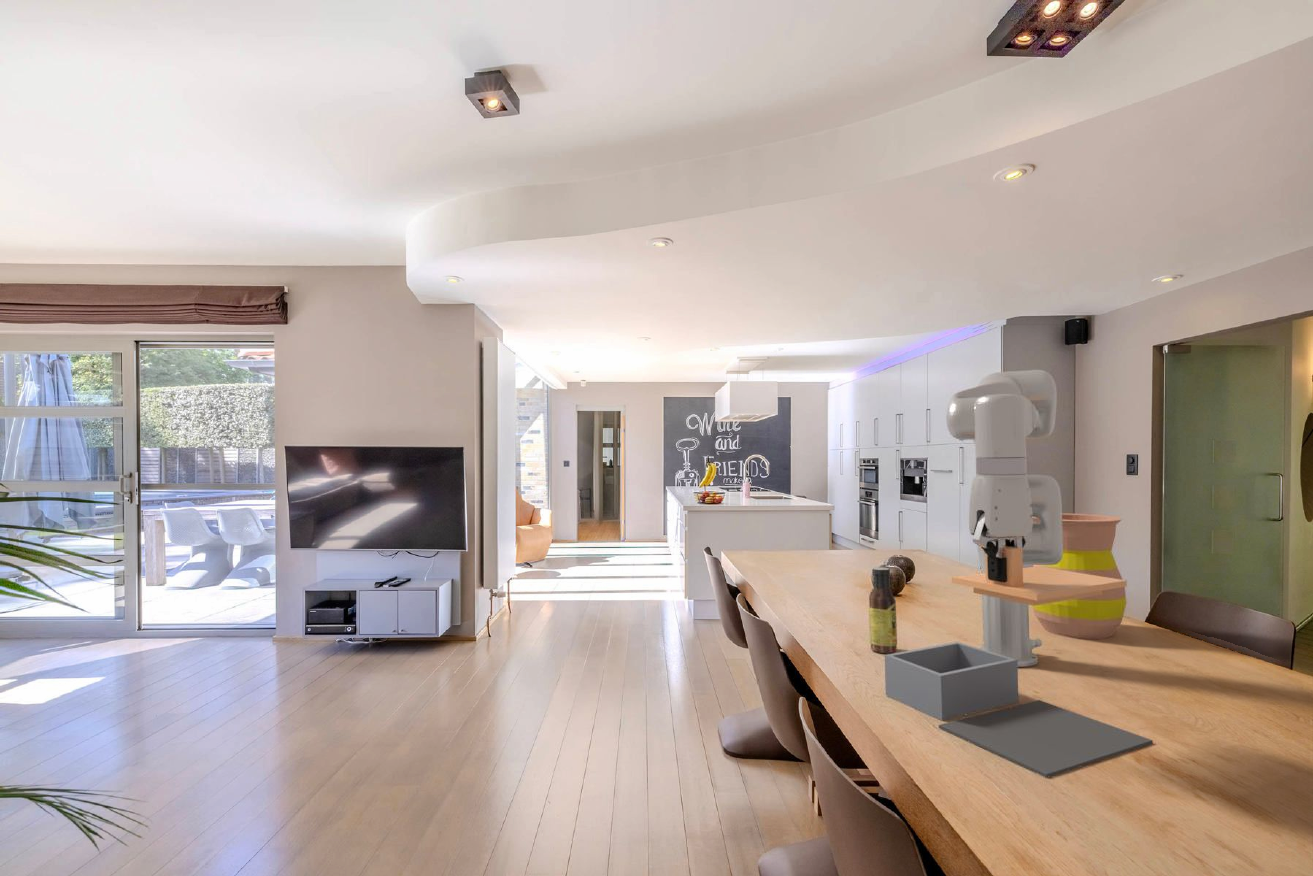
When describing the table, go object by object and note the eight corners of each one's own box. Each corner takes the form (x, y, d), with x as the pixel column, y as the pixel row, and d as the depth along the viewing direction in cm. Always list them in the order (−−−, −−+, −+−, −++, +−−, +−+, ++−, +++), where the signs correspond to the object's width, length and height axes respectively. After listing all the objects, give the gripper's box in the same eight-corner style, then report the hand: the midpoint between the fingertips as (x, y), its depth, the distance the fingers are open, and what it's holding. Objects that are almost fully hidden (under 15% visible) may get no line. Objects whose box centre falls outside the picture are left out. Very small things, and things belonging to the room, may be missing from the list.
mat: (1038, 702, 128) (1038, 700, 128) (1152, 743, 109) (1152, 740, 109) (938, 727, 117) (938, 725, 117) (1046, 777, 99) (1046, 774, 99)
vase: (1016, 619, 189) (1013, 513, 190) (1100, 621, 186) (1096, 513, 187) (1050, 641, 167) (1047, 521, 168) (1146, 643, 164) (1142, 521, 165)
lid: (1037, 579, 126) (1036, 534, 126) (1126, 595, 111) (1125, 544, 111) (952, 591, 117) (950, 542, 117) (1037, 610, 102) (1035, 554, 102)
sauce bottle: (899, 655, 159) (897, 571, 159) (871, 654, 160) (869, 570, 160) (895, 647, 165) (893, 566, 165) (868, 646, 166) (866, 566, 167)
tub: (958, 679, 141) (957, 641, 141) (1018, 701, 128) (1017, 659, 128) (885, 695, 133) (884, 655, 133) (942, 720, 120) (940, 675, 120)
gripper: (1014, 467, 118) (1017, 572, 117) (947, 469, 111) (950, 580, 111) (1054, 467, 111) (1058, 579, 110) (986, 470, 104) (989, 589, 104)
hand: (1004, 579), depth 111 cm, fingers closed on lid, 2 cm apart
